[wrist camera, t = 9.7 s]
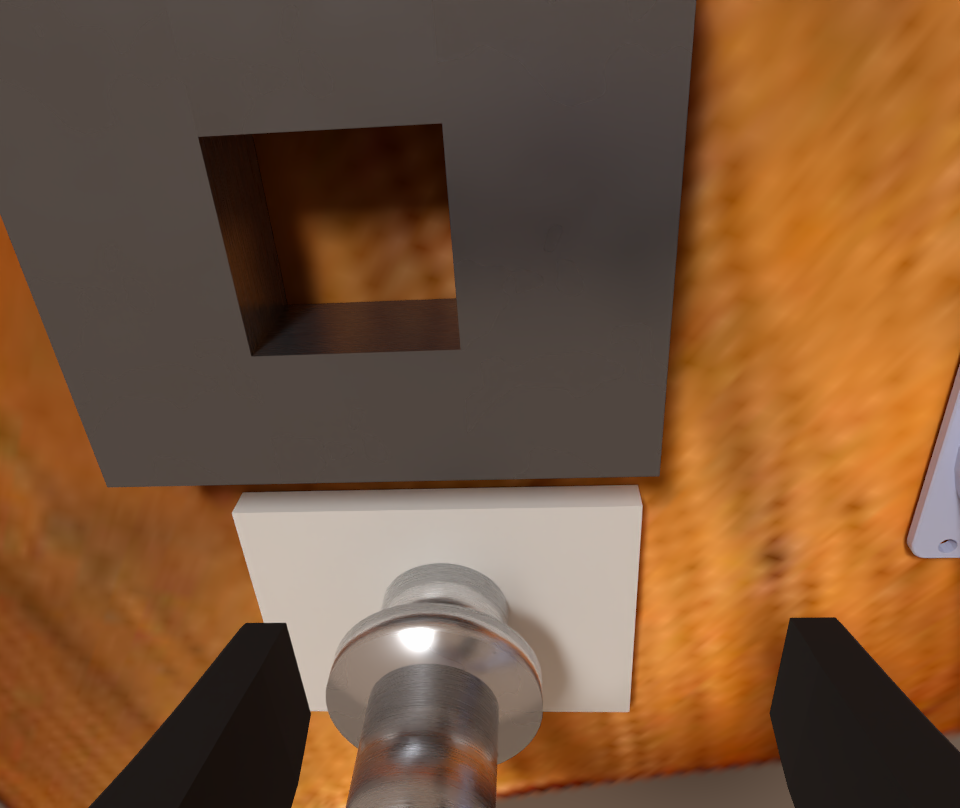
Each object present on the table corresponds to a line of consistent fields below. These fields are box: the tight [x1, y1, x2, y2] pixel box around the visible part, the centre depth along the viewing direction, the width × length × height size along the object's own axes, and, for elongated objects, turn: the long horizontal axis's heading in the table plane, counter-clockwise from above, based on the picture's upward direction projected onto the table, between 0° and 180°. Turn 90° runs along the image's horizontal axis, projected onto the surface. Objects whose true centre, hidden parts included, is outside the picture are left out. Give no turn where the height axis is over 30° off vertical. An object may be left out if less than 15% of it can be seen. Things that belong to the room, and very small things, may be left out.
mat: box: [232, 485, 643, 712], centre depth 24 cm, size 12×9×1 cm
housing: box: [0, 0, 696, 487], centre depth 17 cm, size 14×12×3 cm
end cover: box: [326, 563, 543, 808], centre depth 20 cm, size 6×6×9 cm
